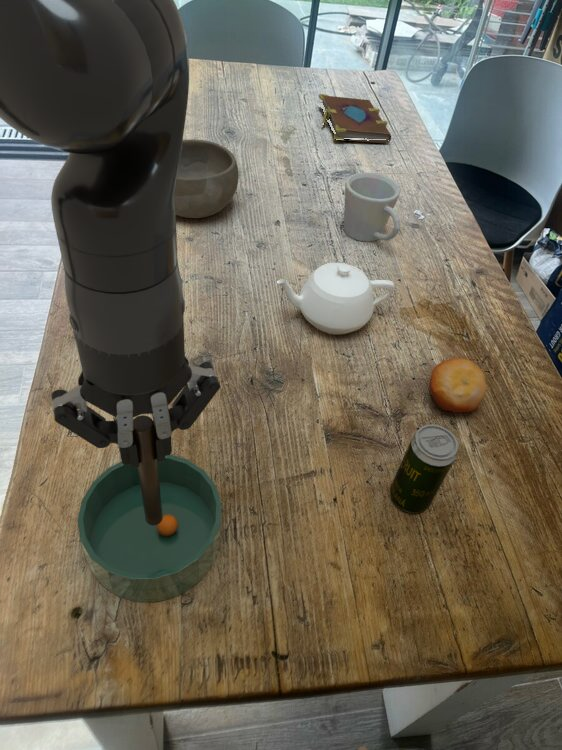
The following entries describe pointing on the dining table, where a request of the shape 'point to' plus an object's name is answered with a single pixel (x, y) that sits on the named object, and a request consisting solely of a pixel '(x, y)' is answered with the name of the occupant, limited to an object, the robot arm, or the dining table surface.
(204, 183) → the bowl
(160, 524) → the ball
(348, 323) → the teapot
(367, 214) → the mug
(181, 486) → the mixing bowl
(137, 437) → the stick
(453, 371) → the fruit
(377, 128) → the book
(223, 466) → the dining table surface
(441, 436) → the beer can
